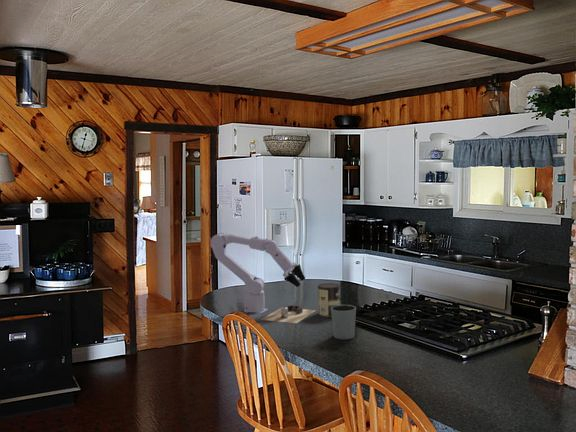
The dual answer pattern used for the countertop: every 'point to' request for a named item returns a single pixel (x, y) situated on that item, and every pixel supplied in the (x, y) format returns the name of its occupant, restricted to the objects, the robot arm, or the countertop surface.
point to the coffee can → (328, 298)
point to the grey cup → (343, 321)
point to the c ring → (295, 308)
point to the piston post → (284, 312)
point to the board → (292, 316)
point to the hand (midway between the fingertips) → (301, 282)
